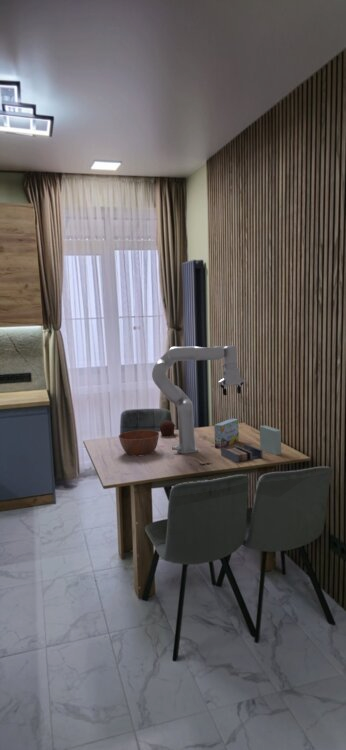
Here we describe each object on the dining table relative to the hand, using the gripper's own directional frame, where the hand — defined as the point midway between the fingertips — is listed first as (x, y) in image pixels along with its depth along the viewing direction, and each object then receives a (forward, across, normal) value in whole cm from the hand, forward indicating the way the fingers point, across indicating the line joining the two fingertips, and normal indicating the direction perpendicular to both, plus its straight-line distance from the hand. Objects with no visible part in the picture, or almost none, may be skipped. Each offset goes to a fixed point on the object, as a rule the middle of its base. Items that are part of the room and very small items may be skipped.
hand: (231, 394), depth 310 cm
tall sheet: (+34, +14, -19) cm, 42 cm away
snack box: (+35, +2, +12) cm, 37 cm away
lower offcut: (+33, -9, -19) cm, 39 cm away
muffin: (+35, -20, +58) cm, 70 cm away
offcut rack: (+34, -6, -19) cm, 40 cm away
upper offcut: (+32, -9, -19) cm, 38 cm away
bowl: (+35, -52, +26) cm, 68 cm away
